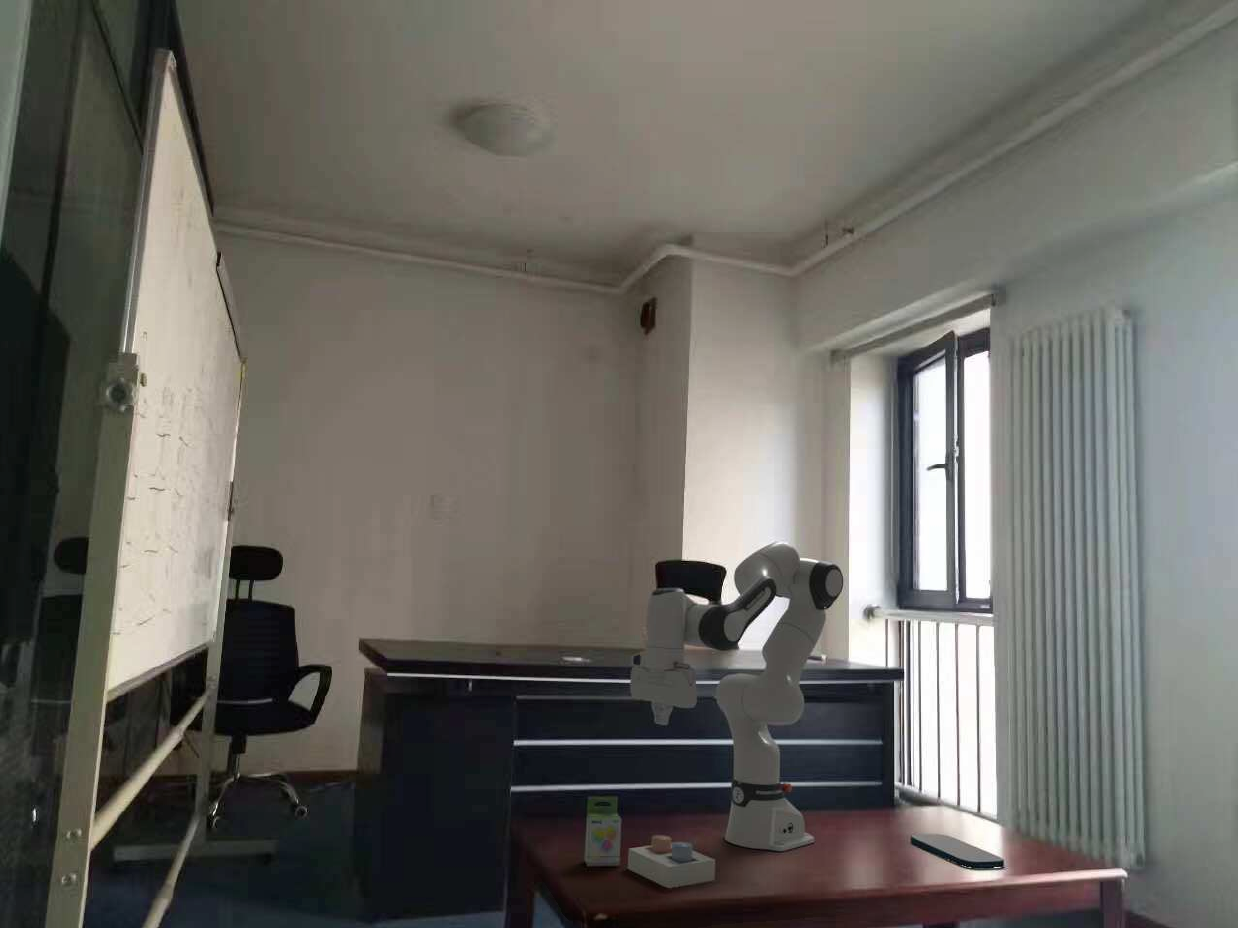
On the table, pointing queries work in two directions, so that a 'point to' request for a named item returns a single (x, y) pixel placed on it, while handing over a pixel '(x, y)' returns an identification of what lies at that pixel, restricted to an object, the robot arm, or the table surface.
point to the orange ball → (661, 844)
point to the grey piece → (682, 852)
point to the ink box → (602, 833)
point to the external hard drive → (956, 851)
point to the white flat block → (670, 867)
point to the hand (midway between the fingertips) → (661, 724)
